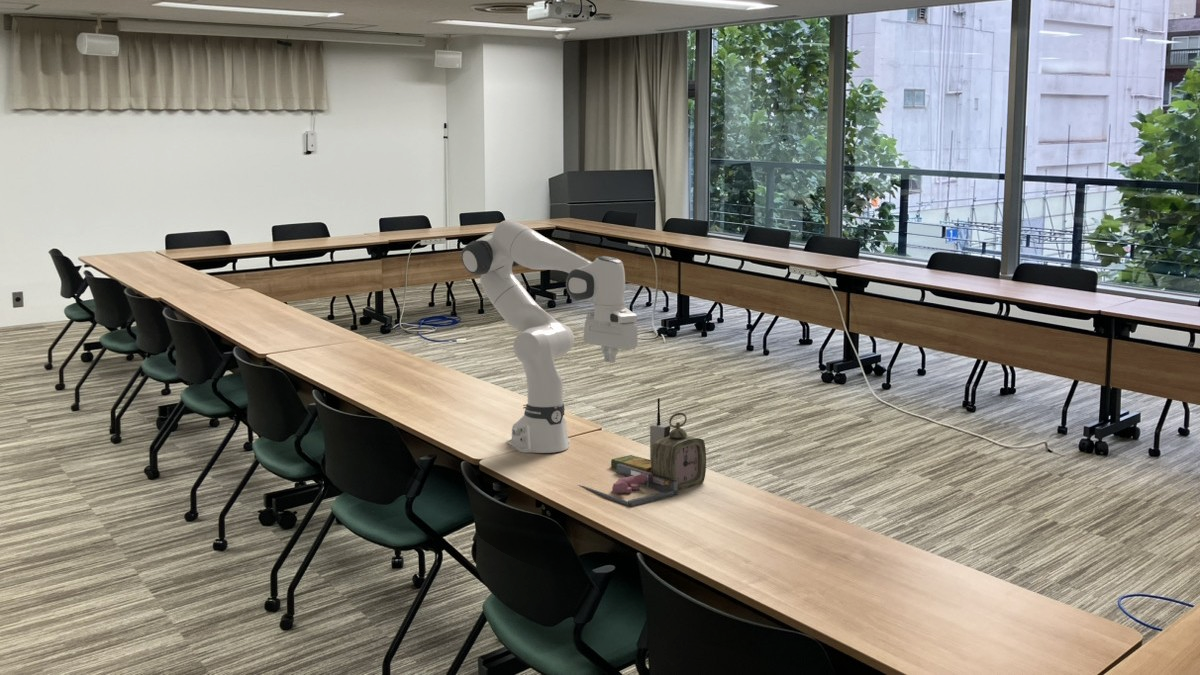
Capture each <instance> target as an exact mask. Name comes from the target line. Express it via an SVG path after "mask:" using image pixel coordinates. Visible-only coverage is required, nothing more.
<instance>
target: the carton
mask: <svg viewBox="0 0 1200 675" xmlns="http://www.w3.org/2000/svg"><path fill="white" fill-rule="evenodd" d="M620 463H621V464H624V465H628V466H631V467H634V468H637V469H640V470H644V471H647V472H650V473H652V471H651V460H650V459H648V458H645V457H641V456H640V457H639V456H635V455H633V454H629V455H625V456H619V457H617V458H611V461H610V467H611V468H612V469H614V470H615V471H617V464H620Z"/></svg>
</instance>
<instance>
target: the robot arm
mask: <svg viewBox="0 0 1200 675" xmlns="http://www.w3.org/2000/svg"><path fill="white" fill-rule="evenodd" d="M461 261H462V264H463V266H464V268H465V269H466V271H467V272H469V273H470V274H471V275H474V276H480V279H479V280H480V284H481V285H480V286H481V287H482V289H483V291H484V293H485V295H486V296H487V298H488V300H489V301H490V303H491V304H492V306H493V307H494V309H495V310H496V311H497V312H498V313H499V315H500V316H501V317H502V318H503V320H504V321H505V323H506V324H507V325H508V326H509V327H511V328H513V329H515V330H517V331H519V332H520V333H518V335H517V336H516V337H515V339H514V340H513V344H512V345H513V352H514V354H515V356H516V358H517V359H518V361H520V362H521V364H522V368H523V370H524V372H525V373H524V374H525V376H526V385H527V403H526V404H523V405H522V406H523V409H524V412H523V416H522V417H521V418H520V419H517V421H516V422H515V423H514V424H512V427H511V439H510V440H508V441H506V443H508V444H509V445H510V446H511V447H513V448H514V449H516V450H517V451H518V452H520V453H526V454H527V453H536V454H550V453H557V452H558V453H559V452H562V451H565V450H566V451H567V450H568V449H569V445H570V444H571V440H570V439H569V437H568V427H567V426H568V425H567V420H566V418H565V417H564V416H565V411H566V410H565V403H564V400H563V399H564V398H563V397H564V393H563V392H564V390H563V387H564V386H563V385H564V384H563V378H562V376H561V375H560V374H559V373H558V371H557V367H556V364H555V363H556V362H555V359H558V358H561V357H562V356H565V355H566V354H567V353H569V351H571V350H572V349H573V347H574V344H575V335H574V332H573V330H572V329H571V328H570V326H568V325H566V324H564V323H562V322H560V321H558V320H557V319H556V318H554V317H553V316H552V315H550V314H549V313H548V312H547V311H545V309H544V308H542V307H541V306H540V305H539V304H538V303H537V302H536V301H535V300H534V298H533V297H532V296H531V294H530V293H529V292H528V291H527V290H526V289H525V287H524V286H523V284H522V282H520V281H519V280H518V279H517V277H516V276H515V275H514V273H513V267H518V266H519V265H520V266H521V267H523V268H528V269H530V270H538V271H539V270H542V271H543V270H544V271H545V270H550V271H561V272H565V273H567V274H568V275H567V277H566V280H565V287H566V291H567V294H568V295H569V297H570V298H571V299H573V300H574V301H579V302H585V301H586V302H587V301H593V302H594V304H593V309H594V310H593V311H589V313H587V314H586V319H585V321H584V326H583V329H584V330H583V341H584V343H586V344H589V345H596V346H600V347H601V349H600V350H601V352H602V355H603V361H604V362H605V363H611V364H613V363H614V364H615V362H616V356H617V355H618V352H619V350H625V351H629V350H631V351H632V350H635V349H636V348H637V347H638V336H639V334H638V326H637V321H638V315H637V314H636V313H635V312H633V311H631V310H630V309H629V308H627V307H626V300H625V290H626V271H625V267H624V263H623V261H622V260H621V259H619V258H618V257H613V256H607V255H602V256H598V257H596V258H595V259H594V260H593V261H592V260H590V259H588V258H587V257H584V256H583V255H580V254H579V253H577V252H574V251H572V250H571V249H568V248H567V247H564V246H561V245H560V244H558V243H556V242H554V241H553V240H551V239H549V238H548V237H545V236H544V235H542V234H541V233H539V232H538V231H536V230H534V229H532V228H531V227H529V226H527V225H525V224H522V223H520V222H518V221H515V220H510V219H505V220H503V221H501V222H499V223H498V224H497V225H496V226H495V227H494V229H493V232H491V233H488V234H485V235H484V236H482V237H480V238H478V239H476V240H472V241H471V242H469V243H468V244H466V245H465V246H464V247H463V249H462V251H461Z"/></svg>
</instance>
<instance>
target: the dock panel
mask: <svg viewBox="0 0 1200 675" xmlns="http://www.w3.org/2000/svg"><path fill="white" fill-rule="evenodd" d="M616 474H619V475H620V476H623V477H624V478H626V477H630V476H636V475H639V474H645V475H646V476H647V480H646V481H645V482H644V483H642V484H641V485H644V486H646V487H647V488H650V489H653V490H654V491H657V493H653V494H650V495H645V496H641V497H638V498H637V497H636V498H632V499H629V500H624V499H622V498H619V497H616V496H613V495H611V494H607V493H604V492H601V491H599V490H596V489H593V488H590V487H588V486H584V485H582V487H581V488H583V487H584V489H585V488H586V489H585V490H587V489H588V490H587V491H589V490H590V491H589V492H591V491H592V492H591V493H594V494H596V495H598V496H600V497H602V498H605V499H608V500H609V501H613V502H615V503H618V504H621V505H624V506H627V507H630V508H632V507H636V506H639V505H644V504H647V503H651V502H656V501H659V500H660V501H661V500H664V499H667V498H671V497H675V496H678V481H676V480H673V479H670V478H666V477H663V476H660V475H657V474H653V473H650V472H647V471H644V470H640V469H637V468H634V467H631V466H628V465H624V464H621V463H620V464H617V470H616Z"/></svg>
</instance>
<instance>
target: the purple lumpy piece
mask: <svg viewBox="0 0 1200 675" xmlns="http://www.w3.org/2000/svg"><path fill="white" fill-rule="evenodd" d="M646 480H647V476H646V475H645V474H639V475H636V476H630V477H621V478H620V477H619V479H618V480H616V482H613V483H612V487H611V489H612V490H611V492H612V493H613V494H616V495H617V494H618V495H619V494H631V493H632V492H633V491H632V490H636V491H637V490H639V489H640V485H643V484H642V483H644V482H645V481H646Z"/></svg>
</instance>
